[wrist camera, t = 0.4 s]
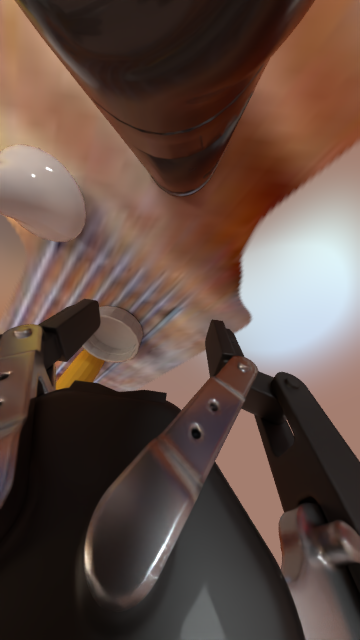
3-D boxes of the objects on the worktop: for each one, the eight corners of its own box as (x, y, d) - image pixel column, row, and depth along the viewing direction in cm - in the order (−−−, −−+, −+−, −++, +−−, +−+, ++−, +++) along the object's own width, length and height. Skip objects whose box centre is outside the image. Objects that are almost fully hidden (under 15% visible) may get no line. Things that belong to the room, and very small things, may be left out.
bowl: (81, 301, 30) (68, 311, 27) (143, 309, 31) (137, 319, 27) (93, 346, 37) (83, 359, 33) (144, 352, 37) (139, 365, 34)
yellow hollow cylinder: (77, 347, 37) (41, 389, 28) (102, 350, 37) (74, 392, 28) (83, 364, 40) (52, 406, 31) (106, 366, 41) (82, 409, 31)
